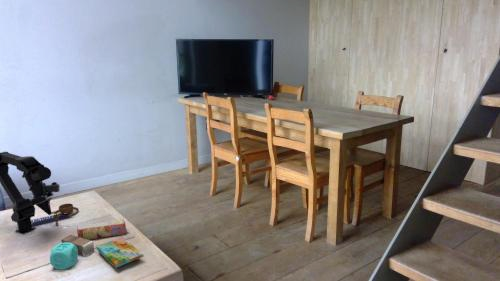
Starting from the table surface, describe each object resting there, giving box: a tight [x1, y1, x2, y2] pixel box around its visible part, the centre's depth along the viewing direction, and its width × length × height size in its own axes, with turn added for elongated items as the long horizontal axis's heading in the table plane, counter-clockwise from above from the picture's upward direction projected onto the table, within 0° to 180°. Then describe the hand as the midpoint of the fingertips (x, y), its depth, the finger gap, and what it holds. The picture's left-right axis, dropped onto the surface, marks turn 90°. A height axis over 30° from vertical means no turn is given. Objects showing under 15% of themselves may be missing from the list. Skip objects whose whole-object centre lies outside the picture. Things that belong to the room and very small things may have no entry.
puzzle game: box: [95, 236, 144, 268], centre depth 167 cm, size 12×5×20 cm
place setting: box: [51, 203, 79, 227], centre depth 207 cm, size 18×20×6 cm
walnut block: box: [61, 234, 95, 258], centre depth 173 cm, size 5×5×14 cm
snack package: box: [76, 219, 127, 241], centre depth 186 cm, size 21×7×7 cm, turn 109°
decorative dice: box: [49, 242, 79, 271], centre depth 162 cm, size 8×8×8 cm
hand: (50, 214), depth 182 cm, fingers closed
